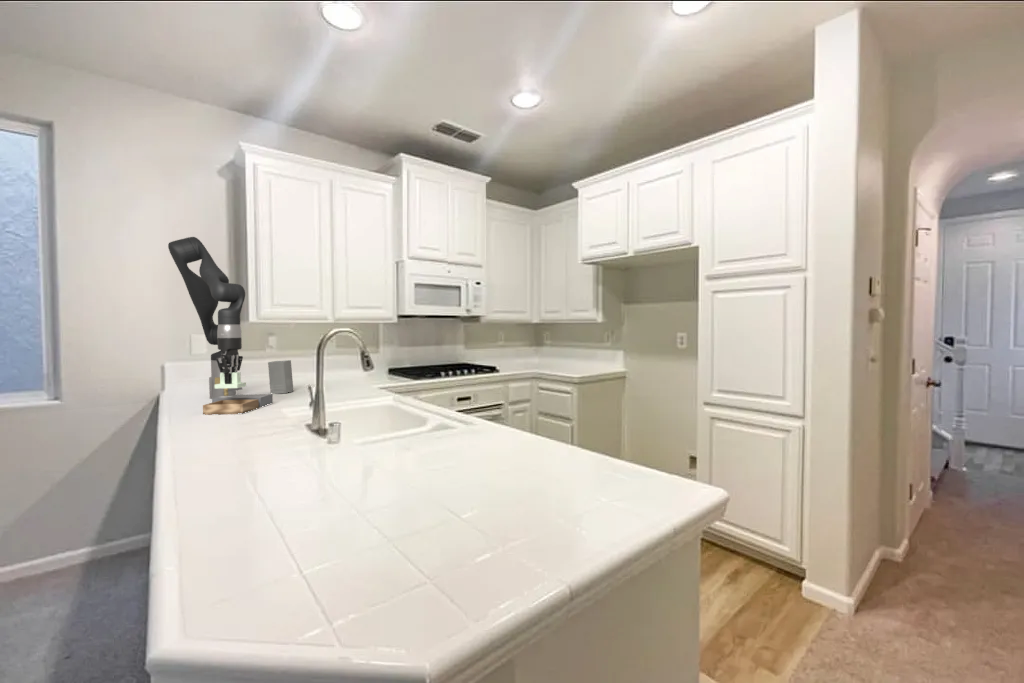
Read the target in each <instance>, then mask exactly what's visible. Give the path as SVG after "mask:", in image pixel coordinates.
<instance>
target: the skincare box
mask: <svg viewBox="0 0 1024 683" xmlns="http://www.w3.org/2000/svg"><path fill="white" fill-rule="evenodd" d="M267 365H268V368H267V369H268V377H269V389H270V394H271V393H279V394H289V393H293V392H294V380H293V372H292V370H293V369H292V360H274V361H268V362H267ZM292 391H293V392H292ZM288 392H289V393H288Z"/></svg>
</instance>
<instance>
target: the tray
mask: <svg viewBox="0 0 1024 683" xmlns="http://www.w3.org/2000/svg"><path fill="white" fill-rule="evenodd" d="M256 408H258V409H260V408H259V402H258V399H252V400H220V401H217V402H213V403H212V402H209V403H205V404H202V415H203V414H205V415H206V416H211V415H212V414H218V415H239V414H238V413H244V414H246V413H245V412H247V413H249V412H248V411H250V412H252V411H254V410H253V409H255V410H257V409H256ZM251 410H252V411H251ZM205 415H204V416H205Z"/></svg>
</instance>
